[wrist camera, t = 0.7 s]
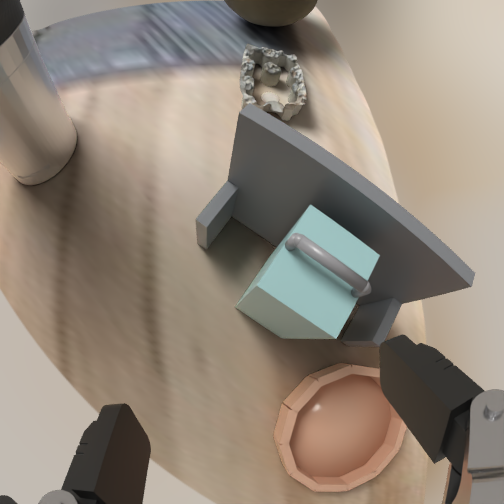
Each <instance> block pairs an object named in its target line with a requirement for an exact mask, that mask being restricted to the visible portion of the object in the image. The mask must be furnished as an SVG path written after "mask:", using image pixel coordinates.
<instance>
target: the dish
mask: <svg viewBox="0 0 504 504" xmlns="http://www.w3.org/2000/svg"><path fill="white" fill-rule="evenodd" d="M308 376H309V377H308ZM308 376H306V377H305V378H304V379H303V381H302V382H301V383H300V384H299V385H298V386H297V387H296V388H295V389H294V390H293V391H292V393H291V394H290V395H289V396H288V397H287V398H286V399H285V400H284V401H283V402H284V404H282V405H281V408H280V412H279V416H278V419H277V423H276V427H275V430H274V434H273V436H274V437H273V438H274V441H275V444H276V447H277V450H278V453H279V456H280V459H281V462H282V465H283V466H284V468H285V469H286V471H287V472H288V474H289V475H290V476H291V477H293V478H294V479H296V480H297V481H299V482H300V483H302V484H304V485H305V486H307V487H308V488H310V489H311V490H313V491H316V492H337V491H346V490H347V491H349V490H351V489H353V488H355V487H357V486H359V485H361V484H363V483H365V482H367V481H369V480H371V479H373V478H374V477H376V476H377V475H379V474H380V473H381V471H382V470H383V469H384V468H385V467H386V466H387V464H388V463H389V462H390V461H391V460H392V458H393V457H394V456H395V455H396V454H397V452H398V451H399V450H398V449H400V447H401V444H402V441H403V438H404V434H405V431H406V427H407V426H406V424H405V423H404V422H403V420H402V419H401V417H400V416H399V415H398V413H397V412H396V411H395V409H394V408H393V407H392V405H391V404H390V403H389V401H388V400H387V399H386V397H385V396H384V394H383V391H382V389H381V385H380V369H378V368H372V367H365V366H358V365H352V364H346V363H338V364H335V365H333V366H330V367H328V368H325V369H322V370H320V371H317V372H315V373H312V374H309V375H308ZM376 474H377V475H376Z"/></svg>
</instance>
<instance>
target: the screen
mask: <svg viewBox="0 0 504 504" xmlns="http://www.w3.org/2000/svg"><path fill="white" fill-rule="evenodd" d="M310 204H311V205H312V206H313V207H315V208H316V209H318V210H319V211H321V212H322V213H323V214H325V215H326V216H328V217H329V218H330V219H332V220H333V221H335V222H336V223H337V224H339V225H340V226H341V227H343V228H344V229H346V230H347V231H348V232H350V233H351V234H352V235H354V236H355V237H356V238H358V239H359V240H360V241H362V242H363V243H364V244H366V245H367V246H368V247H370V248H371V249H372V250H374V251H375V252H376V253H377V254H379V255H380V256H379V258H378V260H377V262H376V264H375V266H374V269H373V271H372V273H371V275H370V277H369V279H368V282H369V283H370V286H371V292H370V294H367V295H364V296H361V297H359V298H358V300H357V302H356V303H357V304H358V305H360V306H359V308H358V310H357V312H356V314H355V316H354V318H353V319H352V321H351V323H350V325H349V327H348V328H347V330H346V332H345V334H344V336H343V337H342V339H341V342H342V343H344V344H345V345H347V346H353V347H380V344H381V343H382V342H384V341H385V339H386V337H387V335H388V333H389V331H390V328H391V326H392V324H393V322H394V320H395V318H396V316H397V314H398V311H399V309H400V307H401V305H402V304H403V303H408V302H412V301H417V300H421V299H425V298H429V297H433V296H437V295H442V294H446V293H449V292H453V291H457V290H461V289H464V288H468V287H471V286H472V283H473V279H474V276H475V273H474V272H473V271H472V270H471V269H470V268H469V267H468V266H467V265H466V264H465V263H464V262H463V261H462V260H461V259H460V258H459V257H458V256H457V255H456V254H455V253H454V252H453V251H452V250H451V249H450V248H449V247H448V246H446V245H445V244H444V243H443V242H442V241H441V240H440V239H439V238H438V237H437V236H435V234H433V233H432V232H431V231H430V230H429V229H427V227H425V226H424V225H423V224H422V223H421V222H420V221H418V220H417V219H416V218H415V217H414V216H413V215H411V214H410V213H409V212H407V210H405V209H404V208H403V207H401V205H399V204H398V203H397V202H396V201H394V200H393V199H392V198H391V197H389V196H388V195H387V194H386V193H384V192H383V191H382V190H381V189H379V188H378V187H377V186H375V185H374V184H373V183H371V182H370V181H369V180H367V179H366V178H365V177H363V176H362V175H361V174H359V173H358V172H357V171H355V170H354V169H352V168H351V167H350V166H348V165H347V164H345V163H344V162H343V161H341V160H340V159H338V158H337V157H336V156H334V155H333V154H331V153H330V152H328V151H327V150H325V149H324V148H322V147H321V146H319V145H318V144H316V143H315V142H313V141H312V140H310V139H309V138H307V137H306V136H304V135H302V134H301V133H299V132H298V131H296V130H295V129H293V128H291V127H290V126H288V125H286V124H285V123H283V122H282V121H280V120H278V119H277V118H275V117H273V116H271V115H270V114H268V113H266V112H265V111H263V110H261V109H259V108H258V107H256V106H254V105H252V104H251V103H249V104H248V105H247V106H246V107H244V108H243V109H242V110H241V111H240V112H239V116H238V122H237V128H236V133H235V139H234V145H233V151H232V157H231V163H230V169H229V176H228V181H227V182H226V183H225V184H224V185H223V187H222V188H221V189H220V190H219V191H218V193H217V194H216V195H215V196H214V197H213V199H212V200H211V201H210V202H209V204H208V205H207V206H206V207H205V209H204V210H203V211H202V212H201V213H200V215H199V216H198V217H197V218H196V231H197V244H199V245H200V246H202V247H203V248H205V249H206V250H207V248H208V247H209V246H210V244H211V243H212V242H213V240H214V239H215V238H216V236H217V235H218V234H219V232H220V231H221V230H222V229H223V227H224V226H225V225H226V223H227V222H228V221H229V219H230V218H231V217H233V218H235V219H236V220H238V221H239V222H241V223H242V224H244V225H245V226H246V227H248V228H249V229H251V230H252V231H254V232H255V233H257V234H258V235H260V236H261V237H262V238H264V239H265V240H267V241H268V242H270V243H271V244H273V245H274V246H276V247H277V246H278V245H279V244H280V243H281V241H282V240H283V239H284V238H285V236H286V235H287V234H288V232H289V231H290V230H291V229H292V227H293V226H294V225H295V224H296V222H297V221H298V220H299V218H300V217H301V216H302V215H303V213H304V212H305V211H306V210H307V208H308V207H309V206H310Z"/></svg>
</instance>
